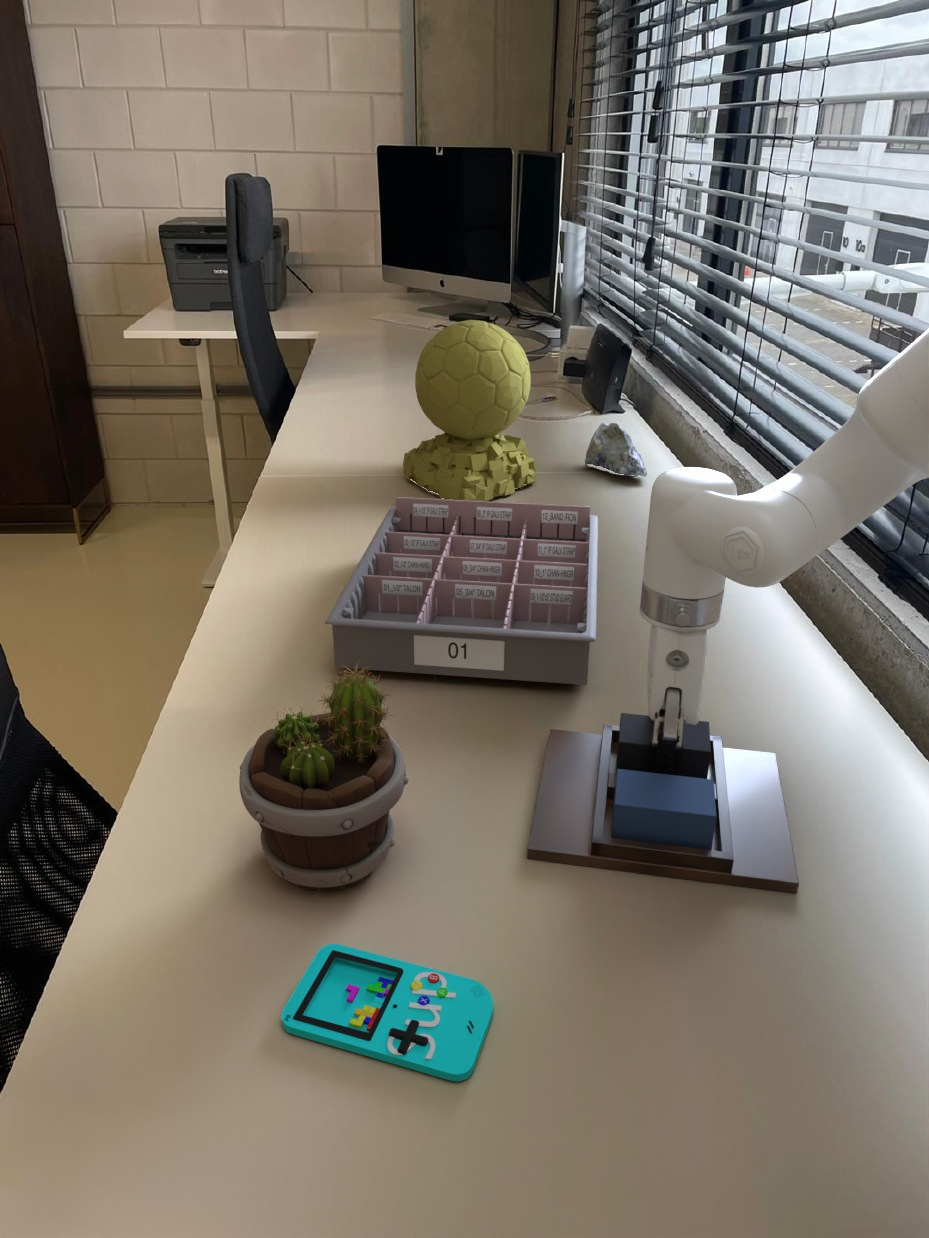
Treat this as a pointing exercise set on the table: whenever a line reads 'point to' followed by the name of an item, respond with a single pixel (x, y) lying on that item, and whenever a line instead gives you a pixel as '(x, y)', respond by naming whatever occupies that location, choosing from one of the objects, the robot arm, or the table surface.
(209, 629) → the table surface
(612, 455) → the mineral rock
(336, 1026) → the handheld gaming console
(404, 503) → the organizer tray
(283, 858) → the flowerpot
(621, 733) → the black rectangular block
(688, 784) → the blue block
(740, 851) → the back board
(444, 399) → the trophy
